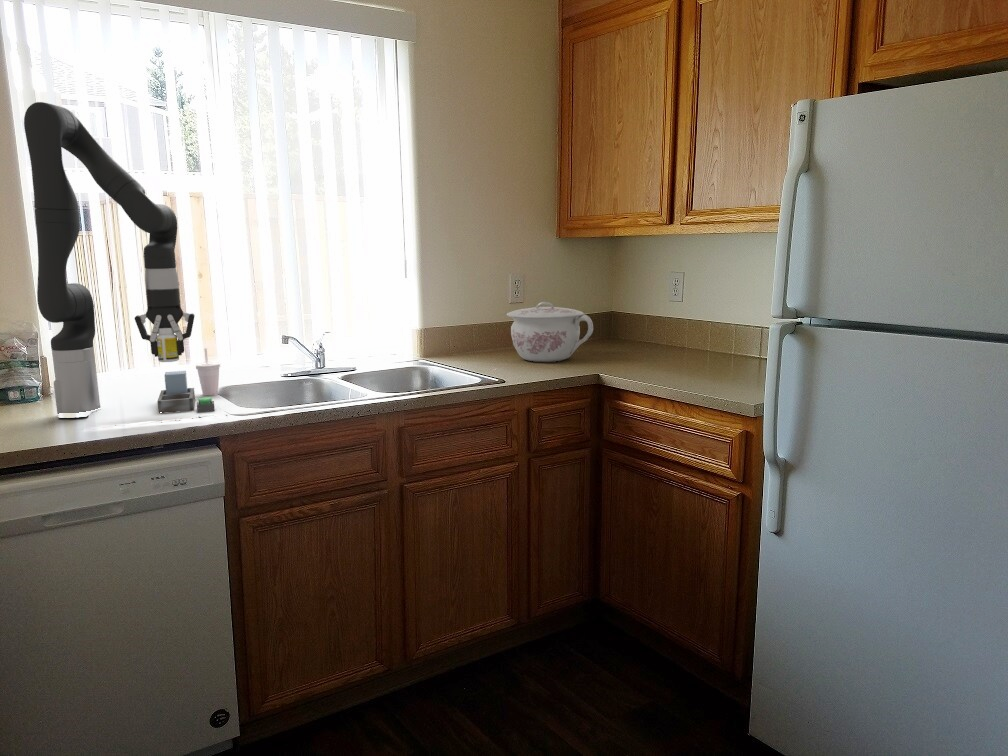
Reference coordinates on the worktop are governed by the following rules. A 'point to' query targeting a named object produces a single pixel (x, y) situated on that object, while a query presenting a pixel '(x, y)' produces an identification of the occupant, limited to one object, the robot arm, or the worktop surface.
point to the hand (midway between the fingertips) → (168, 355)
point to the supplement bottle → (167, 345)
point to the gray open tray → (176, 401)
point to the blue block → (176, 382)
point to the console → (205, 407)
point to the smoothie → (208, 376)
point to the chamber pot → (547, 332)
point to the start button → (205, 400)
